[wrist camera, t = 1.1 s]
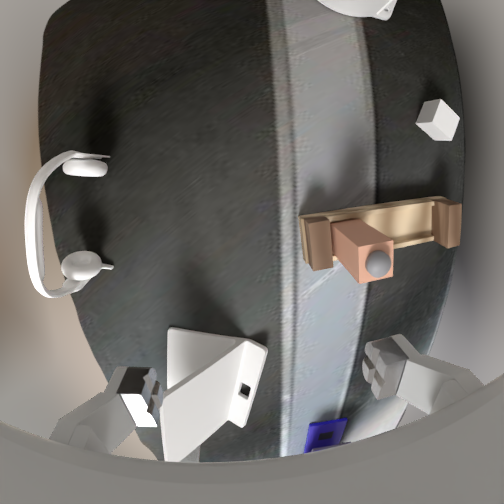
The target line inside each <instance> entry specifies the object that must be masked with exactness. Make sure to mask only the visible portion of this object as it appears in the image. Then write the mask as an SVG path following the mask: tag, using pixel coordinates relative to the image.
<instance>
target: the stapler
mask: <svg viewBox="0 0 504 504" xmlns="http://www.w3.org/2000/svg"><path fill="white" fill-rule="evenodd" d="M347 421H348V420H347V418H342V419H336V420H331V421H325V422H319V423H312V424H309V429H308V434H307V440H306V445H305V450H304V453H309V452H314V451H319V450H324V449H328V448H333V447H337V446H341V445H345V444H348V443H351V442H347V443H342V444H339V443H340V440H341V438H342V435H343V432H344V429H345V426H346V424H347Z"/></svg>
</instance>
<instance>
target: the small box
mask: <svg viewBox="0 0 504 504" xmlns="http://www.w3.org/2000/svg"><path fill="white" fill-rule="evenodd" d="M199 454H200V445H199V446H198V447H197V448H195V449H194V450H193V451H192V452H191V453H189V454H188V455H187V456H186V457H185V458H183V459H182V460H181V461H180V462H196V463H199Z"/></svg>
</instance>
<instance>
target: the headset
mask: <svg viewBox="0 0 504 504" xmlns="http://www.w3.org/2000/svg"><path fill="white" fill-rule="evenodd" d="M73 157H75V158H80V159H71V158H73ZM102 157H103V158H110V156H106V155H96V154H85V153H81V152H77V151H72V150H71V151H68V152H64V153H62V154H60V155H58V156H56V157H54V158H53V159H51V160H50V161H49V162H47V163H46V164H45V165H44V166H43V167H42V168H41V169H40V170H39V171H38V173H37V174H36V176H35V177H34V179H33V181H32V183H31V186H30V189H29V192H28V196H27V201H26V209H25V243H26V254H27V263H28V269H29V273H30V277H31V280H32V283H33V285H34V287H35V288H36V290H37V291H38V292H40V293H41V294H42V295H43V296H45V297H49V298H57V297H58V298H59V297H63V296H66V295H68V294H71V293H73V292H76V291H79V290H80V289H81V288H83V287H84V285H85V284H86V283H87V282H88V281H89V280H90V279H91V278H92V277H94V276H95V275H97V274H98V273H99V271H100V269H113V268H114V266H113V265H108V264H103V263H102V261H101V258H100V257H99V256H98V255H97V254H96V253H94V252H90V251H78V252H74V253H72V254H70V255H68V256H67V257H66V258H65V259H64V260H63V262H62V266H61V269H62V272H63V274H64V275H65V276H66V277H67V278H68V279H67V280H66V281H65V282H64V283H63V287H62V288H60V289H57V290H48V289H47V288H46V287H45V286H44V284H43V279H44V275H45V265H44V253H43V228H42V227H43V206H42V202H41V200H40V198H39V195H40V192H41V189H42V187H43V185H44V183H45V181H46V179H47V178H48V176H49V175H50V174H51V173H52V172H53V171H54V170H55V169H56V168H57V167H58V166H59V165H61V164H62V163H64V162H65V163H64V164H63V171H64V173H66V174H68V175H75V176H91V177H99V176H103V175H105V174H106V172H107V169H108V166H107V164H106V163H105V162H102V161H98V160H93V159H102ZM90 158H92V159H90ZM69 159H71V160H69Z"/></svg>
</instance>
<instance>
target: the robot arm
mask: <svg viewBox="0 0 504 504" xmlns="http://www.w3.org/2000/svg"><path fill="white" fill-rule="evenodd" d="M318 1H319V2H320V3H322V4H323V5H325V6H326V7H328V8H330V9H332V10H334V11H336V12H339V13H342V14H345V15H349V16H355V17H375V18H378V19H381V20H388V19H389V18H390V17H391V14H392V12H393V9H394V6H395V4H396V1H397V0H318ZM385 10H386V11H385ZM365 352H366V354H367V356H366V357H365V358H364V360H363V366H362V367H363V374H364V377H365V379H366V381H367V382H369V383H371V384H372V387H371V390H372V391H373V393H374V395H375V396H376V398H377V400H379V399H382V398H386V397H389V396H393V395H396V396H398V397H400V398H401V399H403V400H405V401H407V402H408V403H410V404H412V405H413V406H415V407H417V408H418V409H420V410H422V411H424V412H425V413H427V414H429V415H428V416H425V417H423V418H421V419H418V420H416V421H414V422H411V423H409V424H406V425H404V426H401V427H399V428H396V429H393V430H390V431H387V432H384V433H381V434H378V435H375V436H372V437H369V438H366V439H363V440H359V441H356V442H352V443H348V444H345V445H341V446H337V447H333V448H328V449H324V450H319V451H314V452H309V453H304V454H298V455H292V456H286V457H279V458H271V459H262V460H252V461H238V462H212V463H196V462H170V461H156V460H146V459H137V458H129V457H123V456H117V455H111V452H113V450H115V449H116V448H117V447H118V446H119V445H120V444H121V442H123V441H124V440H125V439H126V438H127V436H129V434H130V433H131V432H132V431H133V430H134V429H135V428H136V427H137V426H153V427H157V425H158V420H159V416H160V413H159V411H158V409H159V408H160V407H161V406H162V404H163V391H162V387H161V384H160V383H159V382H158V381H156V377H157V374H156V371H155V369H154V368H152V367H122V366H118V367H117V368H116V369H115V371H114V373H113V375H112V377H111V379H110V381H109V383H108V385H107V387H106V389H105V391H104V393H99V394H97V395H96V396H94V397H93V398H91V399H90V400H88V401H87V402H85V403H84V404H82V405H81V406H79V407H77V408H76V409H74V410H73V411H71V412H70V413H68V414H67V415H65V416H63V417H62V418H60V419H59V421H58V423H57V425H56V427H55V429H54V431H53V432H52V434H51V436H50V438H49V439H46V438H43V437H40V436H37V435H34V434H32V433H29V432H26V431H24V430H21V429H18V428H16V427H13V426H11V425H8V424H6V423H4V422H2V421H0V504H504V374H502V375H501V376H499V377H498V378H496V379H495V380H493V381H491V382H490V383H488V384H487V385H485V386H484V385H483V384H482V383H481V382H480V380H479V379H478V378H477V377H476V376H475V375H474V374H473V373H472V372H471V371H470V370H469V369H466V368H463V367H459V366H456V365H453V364H450V363H448V362H444V361H441V360H439V359H436V358H433V357H430V356H427V355H424V354H423V355H420V354H419V353H418V352H417V351H416V349H415V348H414V347H413V346H412V345H411V344H410V343H409V342H408V341H407V339H406V338H405V337H404V336H403V335H401V334H398V335H394V336H391V337H389V338H384V339H380V340H376V341H372V342H368V343H367V344H366V346H365Z"/></svg>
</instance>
